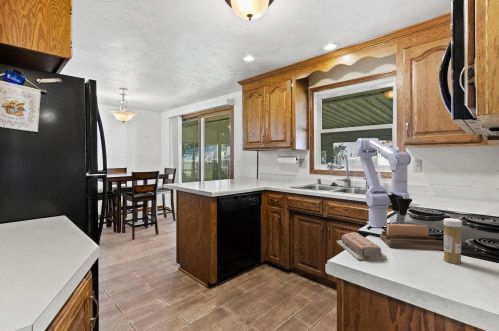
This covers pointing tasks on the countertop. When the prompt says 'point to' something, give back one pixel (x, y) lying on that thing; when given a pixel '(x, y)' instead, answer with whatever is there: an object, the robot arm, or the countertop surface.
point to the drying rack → (412, 241)
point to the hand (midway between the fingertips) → (399, 213)
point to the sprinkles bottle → (452, 240)
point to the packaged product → (361, 247)
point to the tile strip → (407, 229)
